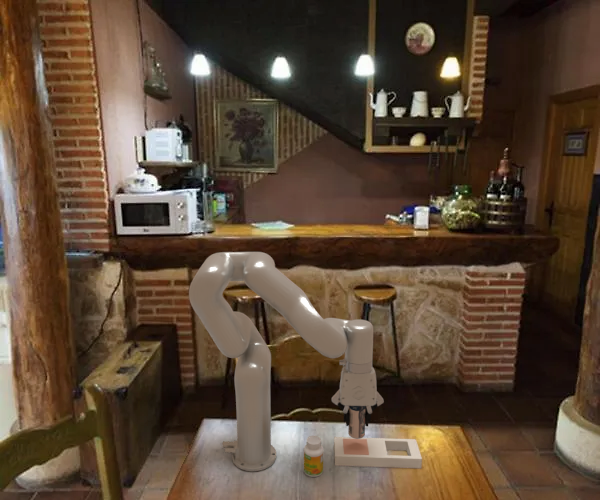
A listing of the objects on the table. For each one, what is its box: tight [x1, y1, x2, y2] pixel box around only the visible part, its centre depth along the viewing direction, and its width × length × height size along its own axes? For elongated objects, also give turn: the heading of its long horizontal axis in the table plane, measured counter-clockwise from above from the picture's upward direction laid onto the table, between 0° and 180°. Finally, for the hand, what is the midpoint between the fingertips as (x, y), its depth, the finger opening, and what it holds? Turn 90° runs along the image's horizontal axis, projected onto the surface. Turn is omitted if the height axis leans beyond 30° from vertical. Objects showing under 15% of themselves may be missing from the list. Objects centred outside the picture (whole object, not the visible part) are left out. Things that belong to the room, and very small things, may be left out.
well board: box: [333, 436, 423, 469], centre depth 139 cm, size 24×9×3 cm, turn 88°
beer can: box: [347, 406, 366, 439], centre depth 137 cm, size 5×5×12 cm
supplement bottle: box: [303, 435, 325, 478], centre depth 132 cm, size 5×5×10 cm
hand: (356, 422), depth 137 cm, fingers closed on beer can, 4 cm apart
